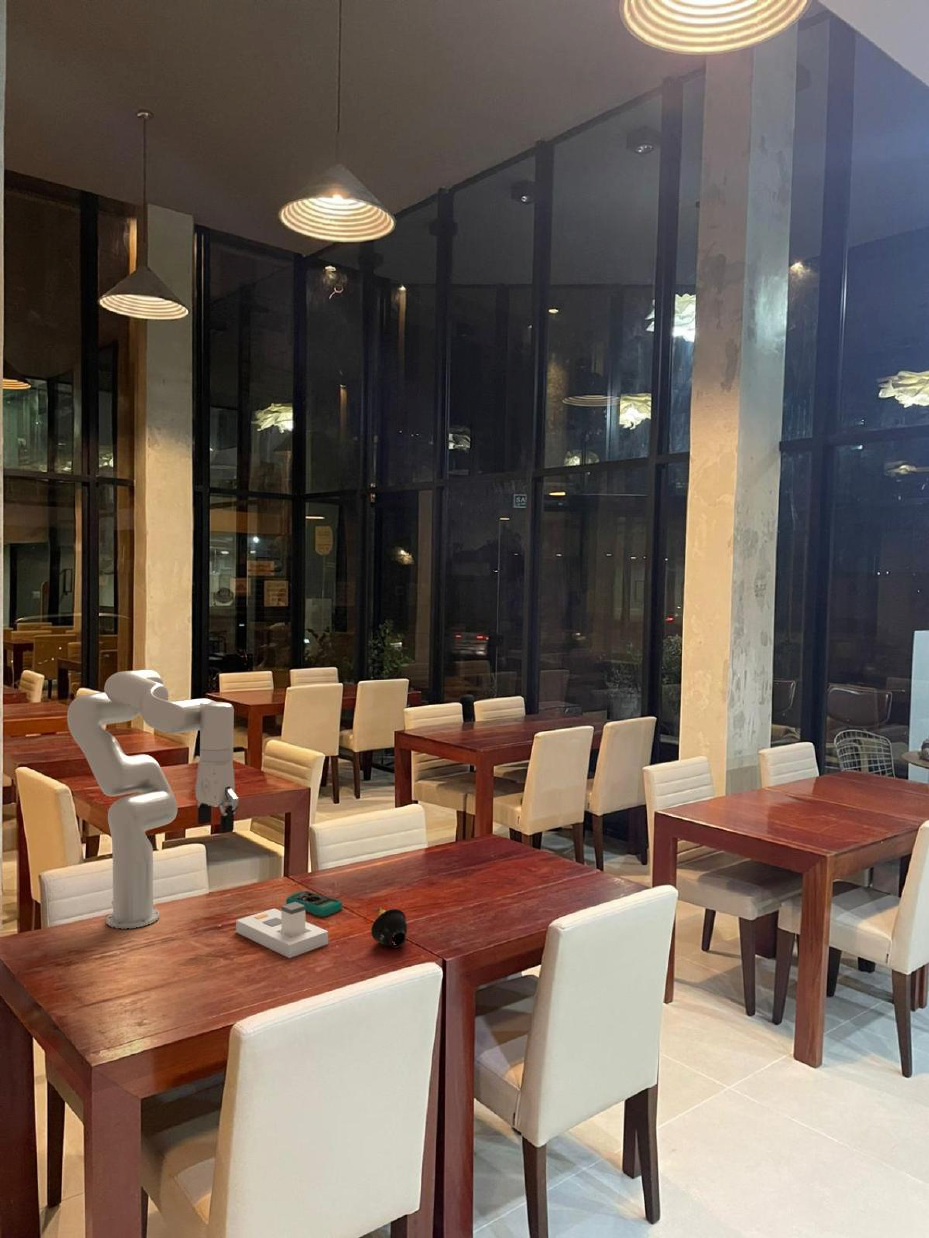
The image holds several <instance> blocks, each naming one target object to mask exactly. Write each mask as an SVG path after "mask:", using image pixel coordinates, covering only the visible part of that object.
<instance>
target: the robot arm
mask: <svg viewBox="0 0 929 1238" xmlns="http://www.w3.org/2000/svg"><path fill="white" fill-rule="evenodd" d="M139 715H141V718H142V719H143V722H144V723H145V724H146V725H147V726H149V727H150V728H152V729H155V730H158V731H160V732H162V733H166V734H171V735H177V734H178V735H179V734H183V733H190V732H195V731H197V732H198V731H200V733H199V735H200V736H199V739H200V740H199V761H198V764H197V771H196V780H195V781H196V782H195V783H196V784H195V786H194V792H195V798H196V801H197V803H196V806H197V807H196V808H197V824H198V825H204V824H210V823H211V822H212V807H214V808H217V807H219V809H220V812H221V814H222V815H220V825H219V826H220V827H219V828H220V829H219V830H220V831H219V832H220V833H221V834H225V833H228V832H233V831H234V829H235V825H234V824H235V823H234V822H235V821H234V820H235V815H236V811H237V809H238V804H239V801H240V798H239V797H238V796H237V794H236V793H235V772H234V771H235V770H234V763H233V762H234V733H235V732H234V726H235V725H234V723H235V720H234V718H235V716H234V715H235V709H234V705H232V704H231V703H229V702H225V701H224V702H223V701H215V700H212V699H209V698H204V697H203V698H195V699H186V700H176V701H170V700H169V691H168V688H167V687H166V686H165V685H164V681H163V679H162V676H160V674H158V672H156V671H155V670H152V669H139V670H126V671H125V670H124V671H118V672H115V673H114V674H112V675H111V676H109V677H108V678H107V679H106V681H105V683H104V688H103V691H101V692H94V693H92V692H91V693H87V694H82V695H81V696H78V697H76V698H75V699H74V700H72V701H71V702H70V704H69V705H68V709H67V715H66V717H67V718H66V719H67V720H66V721H67V727H68V730H69V732H70V735H71V736H72V739H74V741H75V742H76V744H77V746H78V747H79V748H80V749H81V751H82V752H83V754H84V757H85V758H86V761H87V763H88V765H89V767H90V770H91V771H92V772H91V773H92V774H93V776H94V778H95V780H96V782H97V784H98V786H99V788H100V790H101V792H102V793H103V794H104V795H105V796H107V797H118V796H123V797H120V798H119V799H117V800H115V801H114V802H112V804H111V805H110V807H109V808H108V812H107V820H108V821H107V822H108V826H109V831H110V835H111V836H110V837H111V846H112V901H111V905H112V913H110V914H108V915H107V917H106V918H105V921H106V925H107V924H108V925H109V927H110V926H111V928H113V927H115V928H114V929H119V928H121V930H123V929H124V930H125V929H126V930H127V928H129V929H135V928H136V927H137V928H141V927H144V926H145V925H146V926H149V925H151V924H153V923H155V922H156V920H157V921H158V920H159V919H158V918H160V916H161V915H160V914H161V913H160V911H159V909H158V908H154V850H153V845H152V843H151V841H150V839H149V838H148V836H147V835H146V832H147V831H149V830H152V829H156V828H160V827H163V826H166V825H168V824H171V823H172V822H173V821H174V820H175V819H176V817H177V814H178V802H177V800H176V796H175V795H174V791H173V790H172V788H171V785H170V784H169V782H168V780H167V778H166V776H165V774H164V772H163V770H162V768H161V765H160V764H159V762H158V761H157V760H156V759H155V758H154V757H153V756H150V755H149V754H145V753H144V754H141V753H140V754H135V755H126V754H125V752H124V751H123V749H122V747H121V745H120V742H119V741H118V740H117V738H116V737H115V736H114V735H113V734H112V733H111V732H109V731H107V730H106V729H105V728H103V727H102V726H104V725H111V724H118V723H126V722H129V721H132V720H134V719H136V718H137V717H138V716H139ZM138 792H139V793H138ZM133 793H134V794H133ZM129 794H130V795H129ZM125 795H126V796H125ZM127 795H128V796H127ZM148 924H149V925H148ZM108 925H107V926H108Z"/></svg>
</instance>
